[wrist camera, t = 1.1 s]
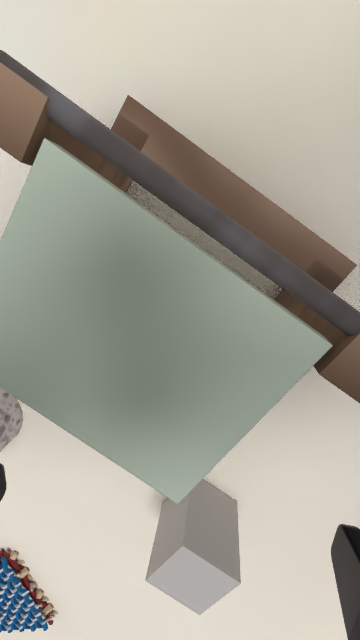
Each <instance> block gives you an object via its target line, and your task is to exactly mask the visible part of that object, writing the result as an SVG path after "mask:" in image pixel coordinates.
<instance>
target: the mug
mask: <svg viewBox="0 0 360 640" xmlns="http://www.w3.org/2000/svg"><path fill="white" fill-rule="evenodd" d="M22 421H23V418H22V411H21V407H20V405H19V403H18V401H17V399H16V397H14V396H13V395H11V394H10V393H8V392H7V391H5V390H4V389H2V388H0V451H1V450H2V449H3V448H4V447H5V446H6V445H7V444H8V443H9V442H10V441H11V440H12V439H13V438H14V437H15V436H16V435H17V434H18V433H19V431H20V429H21V426H22Z"/></svg>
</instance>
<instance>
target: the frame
mask: <svg viewBox="0 0 360 640" xmlns="http://www.w3.org/2000/svg"><path fill="white" fill-rule="evenodd" d="M44 138H46V139H48V140H50V141H52V142H54V143H56V144H58V145H59V146H61V147H62V148H64V149H65V150H66V151H68V152H69V153H70V154H72V155H73V156H75V157H76V158H77V159H79V160H80V161H82V162H83V163H84V164H86V165H87V166H89V167H90V168H91V169H93V170H94V171H95V172H97V173H98V174H100V175H101V176H102V177H104V178H105V179H107V180H108V181H109V182H111V183H112V184H114V185H115V186H116V187H118V188H119V189H120V190H122V191H123V192H125V193H126V191H127V190H128V188H129V186H130V184H131V182H132V180H134V181H135V182H137V183H138V184H139V185H141V186H142V187H143V188H145V189H146V190H148V191H149V192H150V193H152V194H153V195H154V196H156V197H157V198H159V199H160V200H161V201H163V202H164V203H166V204H167V205H168V206H170V207H171V208H172V209H174V210H175V211H177V212H178V213H179V214H181V215H182V216H183V217H185V218H186V219H188V220H189V221H190V222H192V223H193V224H194V225H196V226H197V227H199V228H200V229H201V230H203V231H204V232H206V233H207V234H208V235H210V236H211V237H212V238H214V239H215V240H217V241H218V242H219V243H221V244H222V245H223V246H225V247H226V248H228V249H229V250H230V251H232V252H233V253H234V254H236V255H237V256H239V257H240V258H241V259H243V260H244V261H246V262H247V263H248V264H250V265H251V266H252V267H254V268H255V269H257V270H258V271H259V272H261V273H262V274H263V275H265V276H266V277H268V278H269V279H270V280H272V281H273V282H274V283H276V284H277V285H279V286H280V287H281V288H283V291H282V292H281V293H280V294H279V295H278V297H277V298H276V299H275V300H274V301H276V302H277V303H279V304H280V305H281V306H283V307H284V308H286V309H287V310H288V311H290V312H291V313H292V314H294V315H295V316H297V317H298V318H299V319H301V320H302V321H304V322H305V323H306V324H308V325H309V326H311V327H312V328H313V329H315V330H316V331H317V332H319V333H320V334H322V335H323V336H324V337H326V339H327V340H328V341H329V342H330V343H331V344H332V345H333V346H332V347H331V348H330V349H329V350H328V351H327V352H326V353H325V354H324V355H323V356H322V357H321V358H320V359H319V360H318V361H317V362H316V363H315V364H314V367H315V369H316V370H317V372H318V373H319V374H320V375H321V376H322V377H324V378H325V379H327V380H328V381H329V382H331V383H332V384H334V385H335V386H336V387H338V388H339V389H341V390H342V391H343V392H345V393H346V394H348V395H349V396H350V397H352V398H353V399H355V400H356V401H357V402H359V403H360V312H359V311H357V310H356V309H355V308H353V307H352V306H351V305H349V304H348V303H346V302H345V301H344V300H342V299H341V298H340V297H338V296H337V295H336V294H334V293H333V291H334V290H335V289H336V288H337V287H338V285H339V284H340V283H341V282H342V281H343V280H344V279H345V278H346V277H347V276H348V274H349V273H350V272H351V271H352V270H353V269H354V268H355V267H356V266H357V265H356V264H355V263H354V262H352V261H351V260H350V259H348V258H347V257H346V256H344V255H343V254H342V253H340V252H339V251H338V250H336V249H335V248H334V247H332V246H331V245H329V244H328V243H327V242H325V241H324V240H323V239H321V238H320V237H319V236H317V235H316V234H315V233H313V232H312V231H311V230H309V229H308V228H307V227H305V226H304V225H303V224H301V223H300V222H299V221H297V220H296V219H294V218H293V217H292V216H290V215H289V214H288V213H286V212H285V211H284V210H282V209H281V208H280V207H278V206H277V205H276V204H274V203H273V202H272V201H270V200H269V199H268V198H266V197H265V196H264V195H262V194H261V193H260V192H258V191H257V190H255V189H254V188H253V187H251V186H250V185H249V184H247V183H246V182H245V181H243V180H242V179H241V178H239V177H238V176H237V175H235V174H234V173H233V172H231V171H230V170H229V169H227V168H226V167H225V166H223V165H222V164H221V163H219V162H218V161H216V160H215V159H214V158H212V157H211V156H210V155H208V154H207V153H206V152H204V151H203V150H202V149H200V148H199V147H198V146H196V145H195V144H194V143H192V142H191V141H190V140H188V139H187V138H186V137H184V136H183V135H181V134H180V133H179V132H177V131H176V130H175V129H173V128H172V127H171V126H169V125H168V124H167V123H165V122H164V121H163V120H161V119H160V118H159V117H157V116H156V115H155V114H153V113H152V112H151V111H149V110H148V109H147V108H145V107H144V106H142V105H141V104H140V103H138V102H137V101H136V100H134V99H133V98H132V97H130V96H129V95H128V96H127V98H126V100H125V102H124V104H123V106H122V108H121V110H120V112H119V114H118V116H117V118H116V120H115V122H114V124H113V126H112V128H111V130H110V129H109V128H108V127H106V126H105V125H103V124H102V123H101V122H99V121H98V120H97V119H95V118H94V117H93V116H91V115H90V114H88V113H87V112H86V111H84V110H83V109H82V108H80V107H79V106H78V105H76V104H75V103H73V102H72V101H71V100H69V99H68V98H67V97H65V96H64V95H63V94H61V93H60V92H58V91H57V90H56V89H54V88H53V87H52V86H50V85H49V84H48V83H46V82H45V81H43V80H42V79H41V78H39V77H38V76H37V75H35V74H34V73H32V72H31V71H30V70H28V69H27V68H26V67H24V66H23V65H22V64H20V63H19V62H17V61H16V60H15V59H13V58H12V57H11V56H9V55H8V54H7V53H5V52H4V51H2V50H0V148H2V149H3V150H4V151H6V152H7V153H9V154H10V155H11V156H13V157H14V158H16V159H17V160H19V161H20V162H22V163H25V164H28V165H31V166H33V163H34V161H35V159H36V156H37V154H38V152H39V149H40V147H41V145H42V142H43V140H44Z"/></svg>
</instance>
